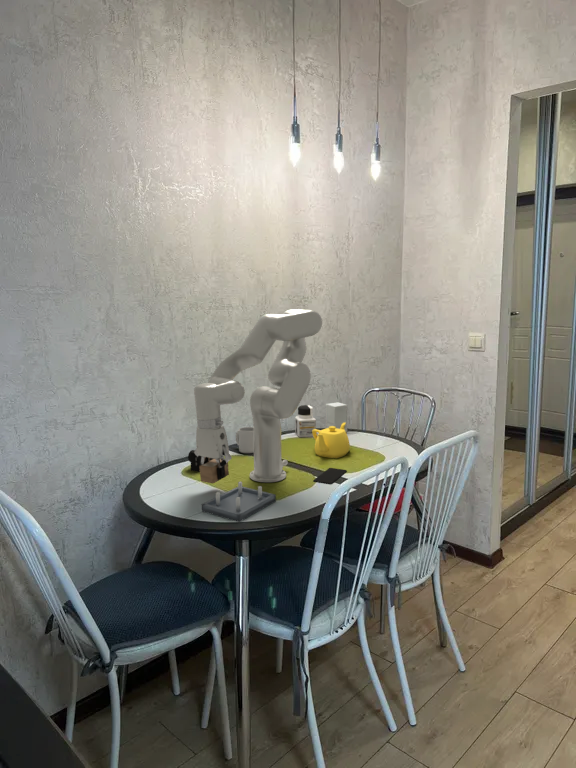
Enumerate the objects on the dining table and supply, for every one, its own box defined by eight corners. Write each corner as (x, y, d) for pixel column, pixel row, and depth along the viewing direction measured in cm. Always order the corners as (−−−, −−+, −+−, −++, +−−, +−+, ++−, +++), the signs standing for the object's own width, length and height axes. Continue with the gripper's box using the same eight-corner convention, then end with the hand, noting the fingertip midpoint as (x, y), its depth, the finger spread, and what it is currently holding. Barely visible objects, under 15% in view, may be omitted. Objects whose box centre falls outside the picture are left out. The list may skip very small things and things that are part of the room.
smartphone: (312, 480, 189) (329, 467, 202) (312, 482, 189) (329, 469, 202) (331, 483, 186) (347, 469, 199) (331, 485, 186) (347, 472, 199)
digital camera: (205, 462, 211) (204, 444, 209) (217, 464, 208) (216, 446, 207) (188, 470, 202) (187, 451, 200) (200, 472, 199) (199, 453, 198)
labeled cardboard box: (216, 472, 184) (215, 457, 183) (228, 474, 182) (227, 459, 181) (200, 481, 178) (199, 466, 177) (212, 483, 175) (211, 468, 174)
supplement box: (347, 432, 251) (348, 404, 249) (334, 434, 248) (334, 406, 246) (338, 428, 258) (338, 401, 256) (325, 430, 254) (325, 403, 252)
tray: (239, 492, 179) (239, 476, 178) (275, 501, 172) (275, 485, 171) (201, 511, 164) (201, 494, 163) (239, 522, 157) (238, 504, 156)
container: (298, 437, 243) (298, 408, 241) (295, 433, 251) (294, 404, 249) (316, 436, 245) (316, 407, 243) (311, 432, 252) (311, 403, 250)
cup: (248, 454, 219) (248, 432, 218) (230, 450, 225) (229, 428, 224) (260, 450, 225) (260, 428, 223) (242, 446, 231) (242, 425, 229)
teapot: (325, 443, 234) (325, 418, 232) (359, 448, 226) (359, 422, 224) (297, 456, 216) (297, 429, 214) (332, 463, 208) (332, 435, 206)
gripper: (238, 422, 174) (242, 477, 178) (197, 416, 183) (202, 468, 187) (222, 429, 168) (227, 485, 172) (181, 422, 177) (187, 476, 181)
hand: (214, 476), depth 180 cm, fingers closed on labeled cardboard box, 5 cm apart
